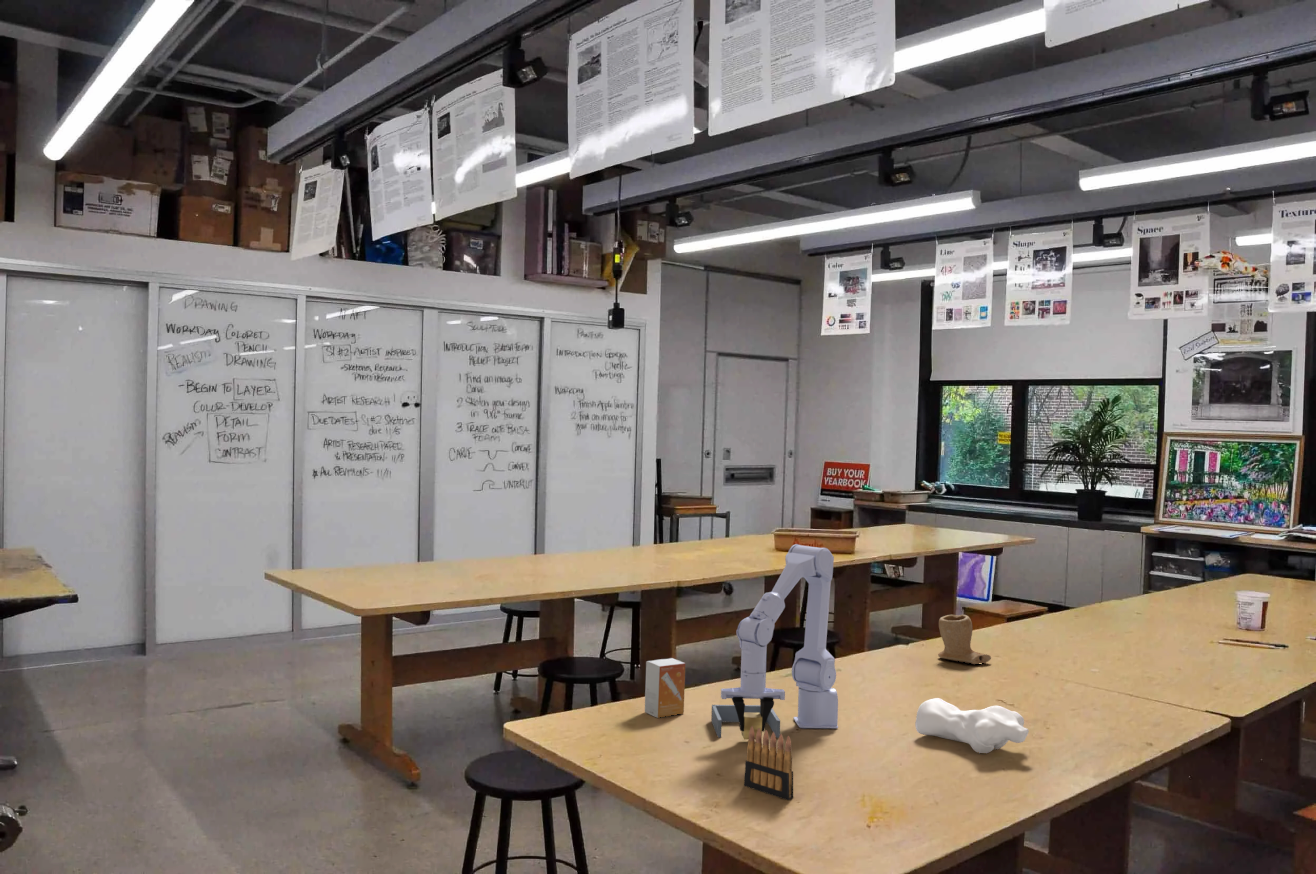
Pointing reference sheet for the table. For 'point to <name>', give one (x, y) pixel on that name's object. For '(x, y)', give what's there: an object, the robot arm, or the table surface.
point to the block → (751, 723)
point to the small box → (664, 687)
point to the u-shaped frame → (730, 715)
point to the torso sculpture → (971, 725)
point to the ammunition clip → (769, 765)
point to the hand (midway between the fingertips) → (751, 730)
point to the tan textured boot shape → (959, 640)
